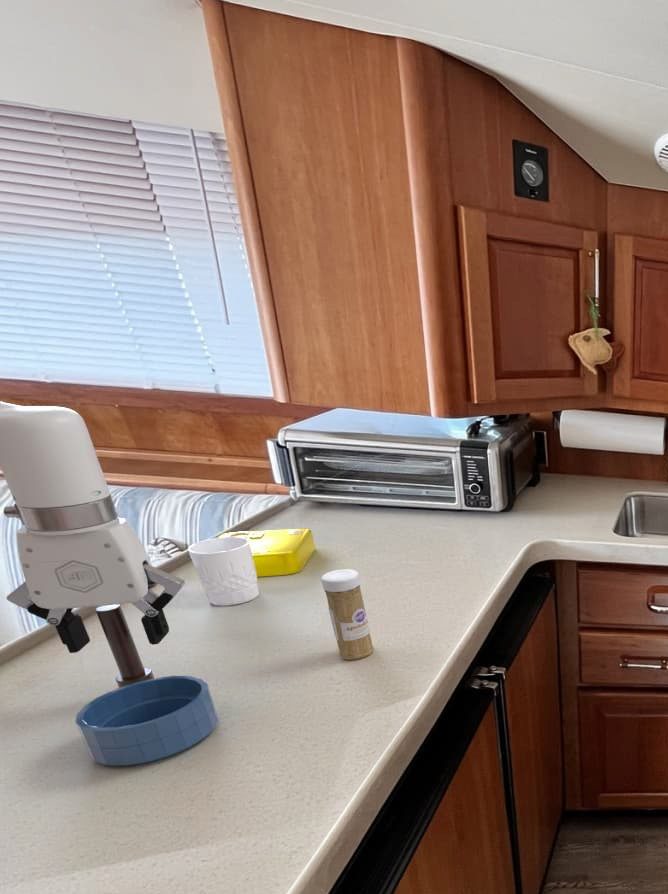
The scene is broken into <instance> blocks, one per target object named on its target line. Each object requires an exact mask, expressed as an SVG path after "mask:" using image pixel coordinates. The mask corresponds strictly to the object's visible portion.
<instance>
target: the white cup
mask: <svg viewBox="0 0 668 894" xmlns="http://www.w3.org/2000/svg"><path fill="white" fill-rule="evenodd" d="M187 552H188V554H189V557H190V560H191V561H192V565H193V567H194V570H195V572H196V575H197V578H198V580H199V581H200V584H201V586H202V588H203V590H204V593H205V595H206V597H207V600H208V603H209V604H212V605H213V606H222V607H226V606H236V605H239V604H243V603H247V602H250V601H252V600H254V599H256V598H258V597H259V596H260V590H259V585H258V577H257V576H256V569H255V564H254V560H253V555H252V550H251V545H250V541H249V540H248V539H246V538H242V537H221V538H218V537H213V538H209V539H205V540H201V541H198V542H195V543H193V544H191V545H189V546H188V547H187Z"/></svg>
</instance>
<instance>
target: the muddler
mask: <svg viewBox="0 0 668 894" xmlns="http://www.w3.org/2000/svg"><path fill="white" fill-rule="evenodd" d="M95 613H96V617H97V618H98V621H99V624H100V625H101V628H102V631H103V634H104V636H105V638H106V641H107V643H108V646H109V648H110V651H111V653H112V656H113V659H114V661H115V663H116V666H117V668H118V671H119V674H118V675H117V676H116V677H115V682H116V684H117V687H118V688H121V687H124V686H127V685H130V684H133V683H136V682H140V681H145V680H149V679H154V678H155V676H154V673H153V671H152V669H151V668H149V667H144V665H143V662H142V659H141V656H140V654H139V651H138V649H137V646H136V643H135V641H134V639H133V635H132V633H131V630H130V626H129V624H128V621H127V620H126V617H125V614H124V611H123V609H122V606H121V604H117V605H105V606H97V607H96V608H95Z"/></svg>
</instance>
